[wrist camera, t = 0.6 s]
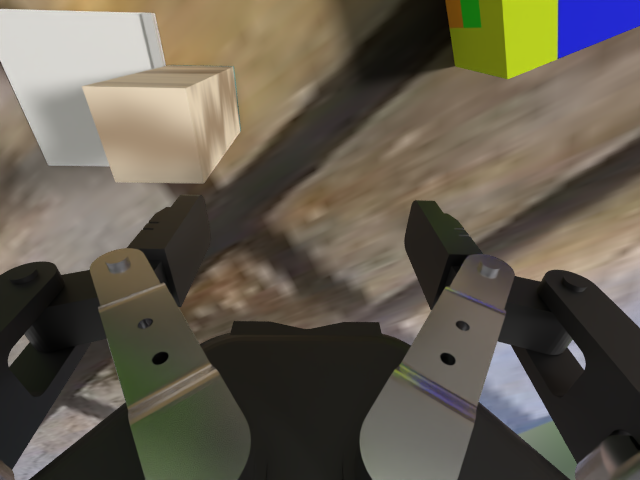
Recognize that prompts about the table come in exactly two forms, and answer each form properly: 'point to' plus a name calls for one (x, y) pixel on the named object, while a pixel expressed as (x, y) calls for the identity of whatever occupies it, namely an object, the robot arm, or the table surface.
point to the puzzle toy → (531, 31)
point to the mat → (72, 71)
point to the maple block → (166, 122)
